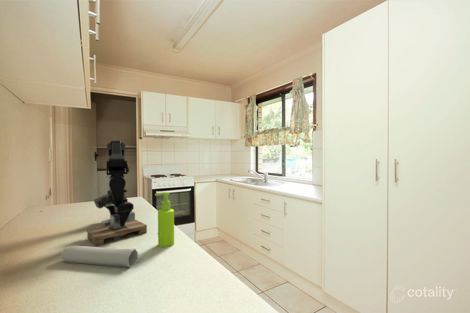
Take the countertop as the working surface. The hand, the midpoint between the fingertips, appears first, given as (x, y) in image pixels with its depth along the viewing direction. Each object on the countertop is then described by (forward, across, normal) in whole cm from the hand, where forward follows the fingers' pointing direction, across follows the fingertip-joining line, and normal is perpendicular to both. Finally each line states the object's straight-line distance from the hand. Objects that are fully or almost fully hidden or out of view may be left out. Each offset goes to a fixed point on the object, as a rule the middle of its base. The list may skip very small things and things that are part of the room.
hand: (117, 224), depth 97 cm
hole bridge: (+5, 0, 0) cm, 5 cm away
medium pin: (+5, -12, +9) cm, 16 cm away
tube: (+6, +20, -13) cm, 25 cm away
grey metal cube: (+5, -12, 0) cm, 13 cm away
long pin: (+5, 0, 0) cm, 5 cm away
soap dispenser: (+5, +23, +9) cm, 25 cm away
